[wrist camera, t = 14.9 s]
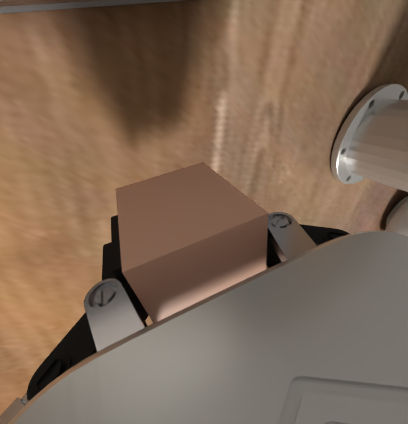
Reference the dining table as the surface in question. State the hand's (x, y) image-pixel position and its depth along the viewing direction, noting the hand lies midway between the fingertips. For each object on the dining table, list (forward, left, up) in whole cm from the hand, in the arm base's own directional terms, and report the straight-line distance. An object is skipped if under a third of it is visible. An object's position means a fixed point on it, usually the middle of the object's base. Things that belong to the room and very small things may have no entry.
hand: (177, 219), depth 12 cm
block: (0, 0, -1) cm, 1 cm away
